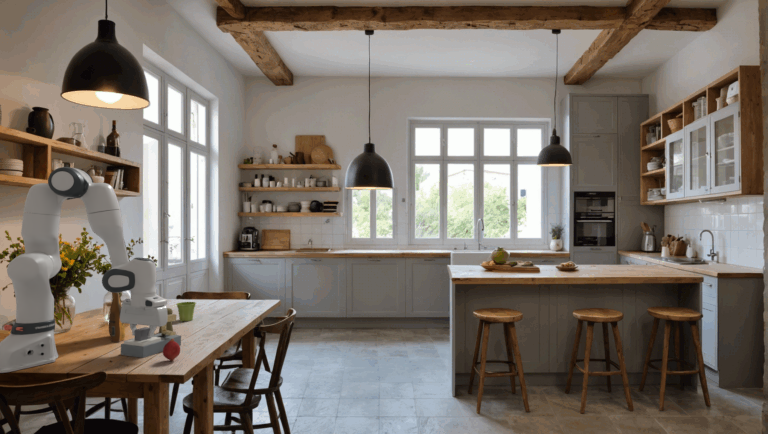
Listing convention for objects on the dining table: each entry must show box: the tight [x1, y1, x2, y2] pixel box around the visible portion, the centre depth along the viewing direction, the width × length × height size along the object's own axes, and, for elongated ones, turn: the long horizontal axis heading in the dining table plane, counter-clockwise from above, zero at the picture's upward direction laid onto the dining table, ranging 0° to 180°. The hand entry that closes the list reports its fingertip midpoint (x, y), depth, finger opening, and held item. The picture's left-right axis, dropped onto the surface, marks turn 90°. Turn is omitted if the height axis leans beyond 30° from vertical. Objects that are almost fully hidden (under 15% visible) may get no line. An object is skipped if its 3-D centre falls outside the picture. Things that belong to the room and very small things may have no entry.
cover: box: [123, 326, 161, 346], centre depth 183 cm, size 9×9×5 cm
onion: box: [162, 339, 181, 362], centre depth 173 cm, size 6×6×8 cm
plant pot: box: [176, 301, 197, 322], centre depth 243 cm, size 9×9×9 cm
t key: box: [161, 313, 177, 336], centre depth 191 cm, size 8×9×8 cm
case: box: [120, 332, 182, 359], centre depth 187 cm, size 19×11×4 cm, turn 161°
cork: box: [158, 307, 174, 334], centre depth 216 cm, size 6×6×11 cm
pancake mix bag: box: [108, 292, 126, 343], centre depth 205 cm, size 7×19×28 cm, turn 33°
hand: (143, 336), depth 183 cm, fingers open, 6 cm apart
